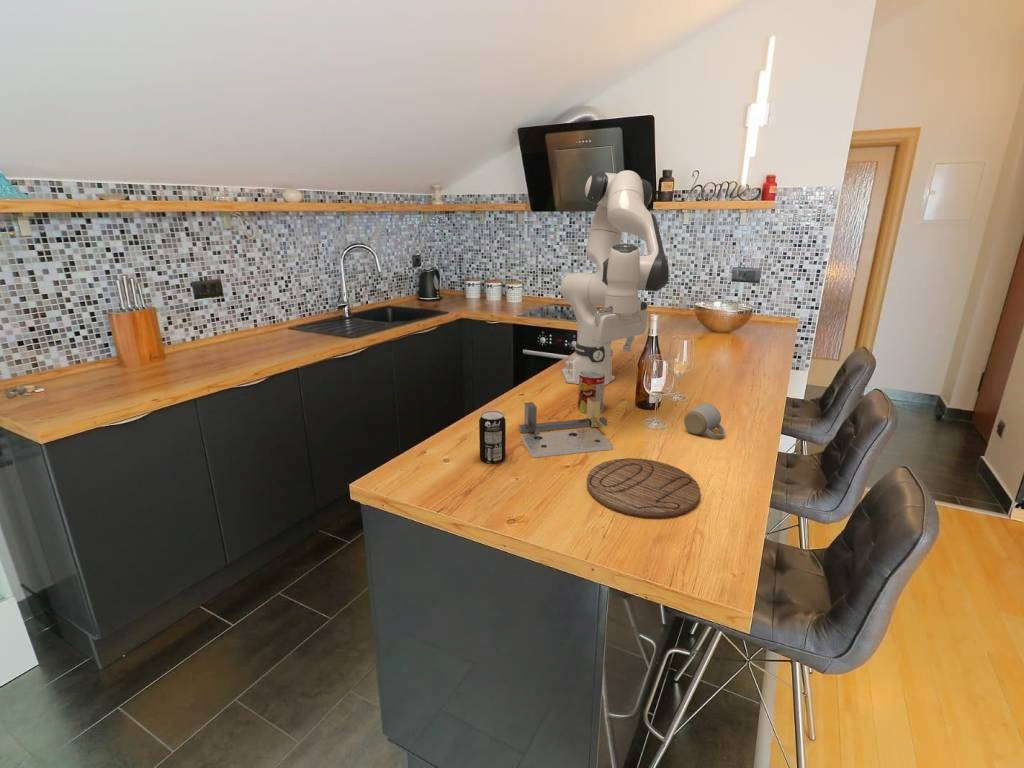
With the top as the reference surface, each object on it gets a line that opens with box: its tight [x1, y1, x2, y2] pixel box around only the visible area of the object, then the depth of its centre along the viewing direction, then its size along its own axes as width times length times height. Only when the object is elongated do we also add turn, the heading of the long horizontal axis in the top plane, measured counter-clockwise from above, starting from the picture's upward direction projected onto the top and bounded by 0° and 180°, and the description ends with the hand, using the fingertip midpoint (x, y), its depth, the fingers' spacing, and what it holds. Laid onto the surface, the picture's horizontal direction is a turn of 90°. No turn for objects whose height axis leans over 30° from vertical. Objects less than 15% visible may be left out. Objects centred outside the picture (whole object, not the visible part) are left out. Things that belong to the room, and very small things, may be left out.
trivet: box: [586, 457, 701, 520], centre depth 122 cm, size 25×25×2 cm
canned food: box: [577, 370, 605, 415], centre depth 168 cm, size 8×8×12 cm
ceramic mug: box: [683, 402, 726, 440], centre depth 152 cm, size 11×8×8 cm
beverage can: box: [478, 410, 507, 464], centre depth 135 cm, size 7×7×12 cm
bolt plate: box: [520, 427, 614, 459], centre depth 145 cm, size 12×22×1 cm, turn 103°
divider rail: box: [518, 401, 608, 435], centre depth 152 cm, size 10×26×8 cm, turn 103°
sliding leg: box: [585, 397, 606, 430], centre depth 154 cm, size 10×2×8 cm, turn 13°
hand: (617, 353), depth 153 cm, fingers open, 7 cm apart
